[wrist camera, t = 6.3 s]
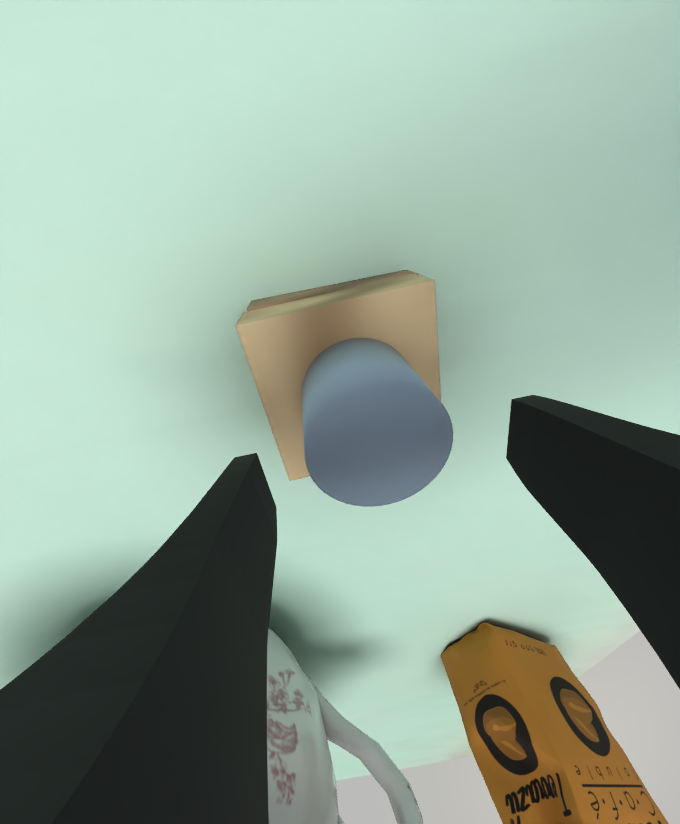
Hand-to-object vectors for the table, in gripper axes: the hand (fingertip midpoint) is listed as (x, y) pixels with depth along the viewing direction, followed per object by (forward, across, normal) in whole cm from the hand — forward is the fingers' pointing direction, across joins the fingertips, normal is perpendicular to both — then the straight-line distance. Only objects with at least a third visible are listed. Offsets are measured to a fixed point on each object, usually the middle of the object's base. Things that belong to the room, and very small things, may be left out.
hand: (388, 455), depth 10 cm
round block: (+6, 0, +1) cm, 6 cm away
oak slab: (+8, 0, +1) cm, 9 cm away
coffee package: (+11, -11, +37) cm, 40 cm away
